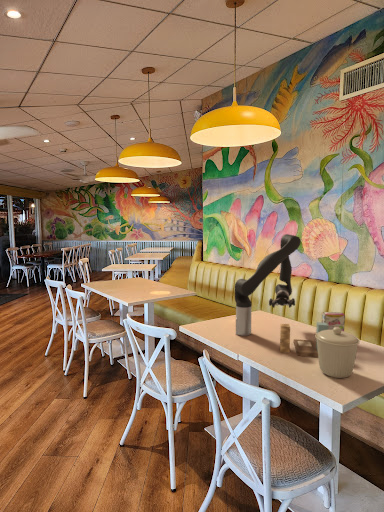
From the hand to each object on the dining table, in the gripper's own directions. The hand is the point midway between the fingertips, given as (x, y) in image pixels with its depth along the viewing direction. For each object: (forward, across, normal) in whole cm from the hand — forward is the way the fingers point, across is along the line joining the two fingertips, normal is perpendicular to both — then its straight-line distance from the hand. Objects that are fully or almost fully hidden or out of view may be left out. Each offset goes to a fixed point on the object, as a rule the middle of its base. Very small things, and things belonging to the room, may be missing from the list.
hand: (281, 306), depth 182 cm
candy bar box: (-10, +26, +24) cm, 37 cm away
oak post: (+12, +1, +21) cm, 24 cm away
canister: (+32, +23, +21) cm, 45 cm away
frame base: (+7, +14, +22) cm, 27 cm away
